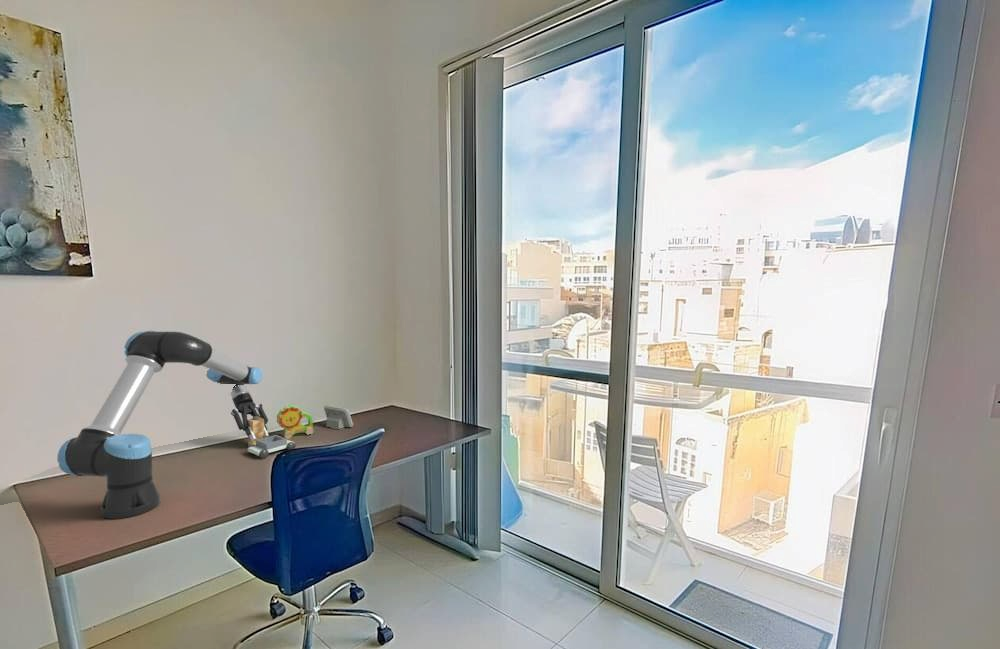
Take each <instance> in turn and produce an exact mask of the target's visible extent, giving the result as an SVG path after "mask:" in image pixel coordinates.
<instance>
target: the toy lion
mask: <svg viewBox="0 0 1000 649" xmlns="http://www.w3.org/2000/svg"><path fill="white" fill-rule="evenodd" d="M303 418H307V420H308V424H307V425H304V424H303V423H301V420H302V419H303ZM276 422H277V424H278V425H279V427H280V428H282V429H283V430H282V431H281V437H282V436H283V438H286V439H287V440H290V439H291V438H293V436H294V435H296V434H298V433H305V434H306V435H308V436H310V435H309V434H311V435H312V434H314V428H313V427H314V426H313V425H314V424H313V418H312V416H311V415H310V414H309V413H307V412H305V411H304V412H303V411H302V409H300V408H299V407H298V406H294V405H288V406H285V407H284V408H282V409H280V410H279V412H278V413H277V415H276Z"/></svg>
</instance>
